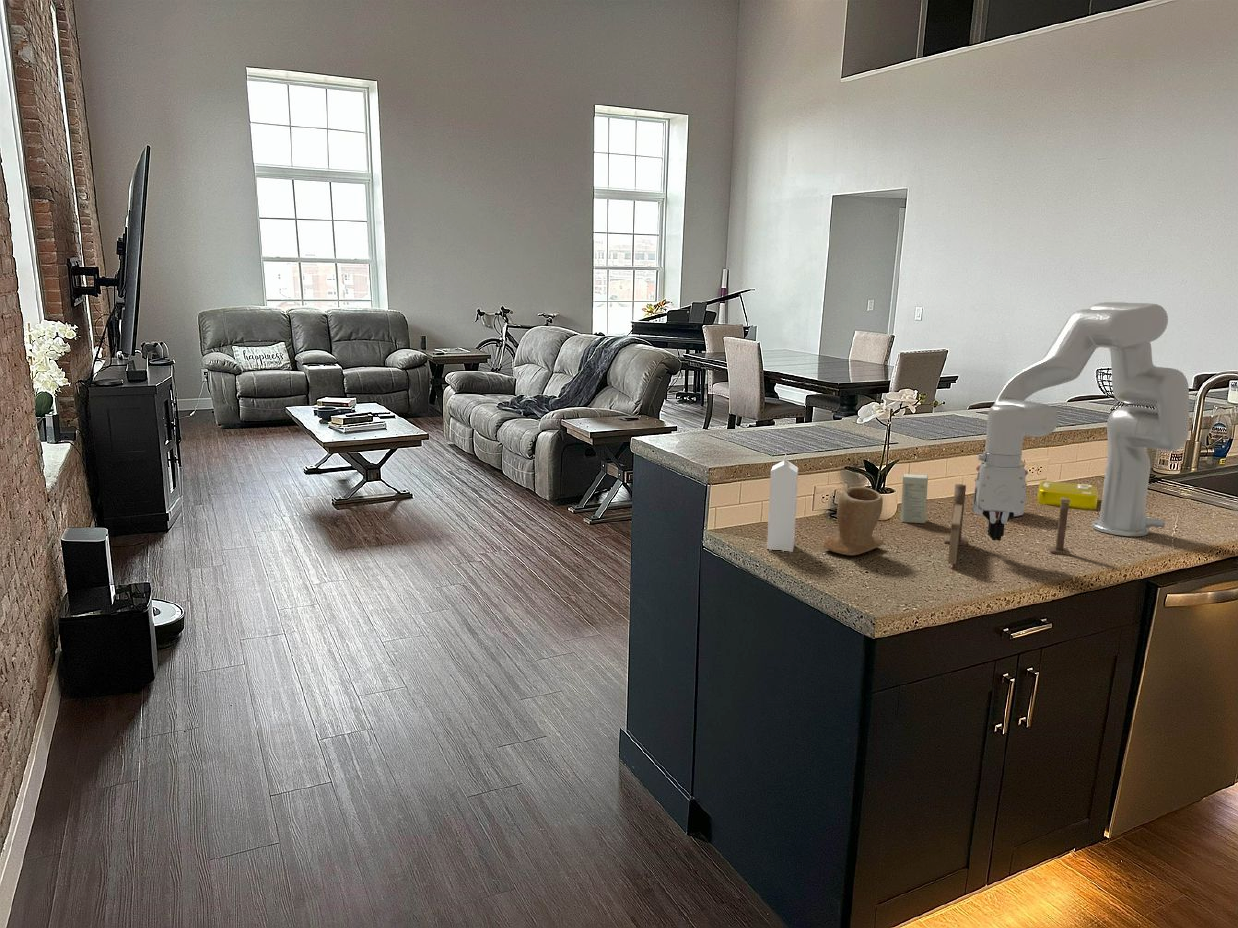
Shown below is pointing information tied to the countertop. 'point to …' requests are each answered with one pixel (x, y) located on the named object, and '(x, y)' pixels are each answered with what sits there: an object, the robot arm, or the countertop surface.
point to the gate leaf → (955, 533)
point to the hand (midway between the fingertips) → (995, 538)
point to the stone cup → (856, 522)
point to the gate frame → (960, 499)
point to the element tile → (1068, 494)
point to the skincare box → (914, 498)
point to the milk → (782, 506)
